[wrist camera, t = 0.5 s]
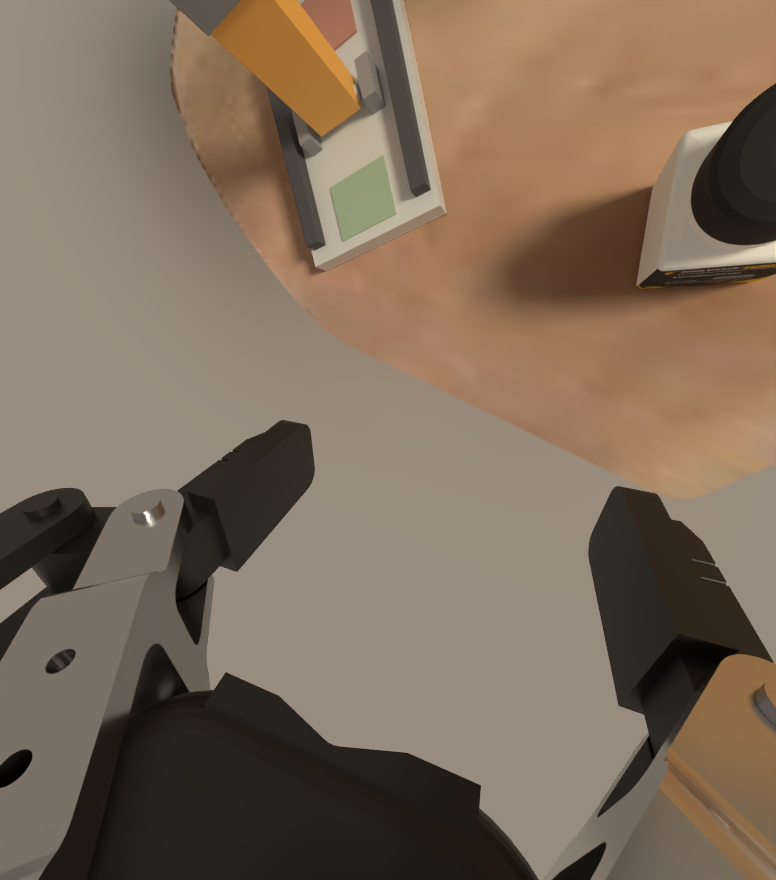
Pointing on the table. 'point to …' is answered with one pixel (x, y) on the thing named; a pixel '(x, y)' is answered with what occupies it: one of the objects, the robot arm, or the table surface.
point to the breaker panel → (365, 142)
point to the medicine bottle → (715, 204)
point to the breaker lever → (282, 55)
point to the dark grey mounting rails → (403, 117)
